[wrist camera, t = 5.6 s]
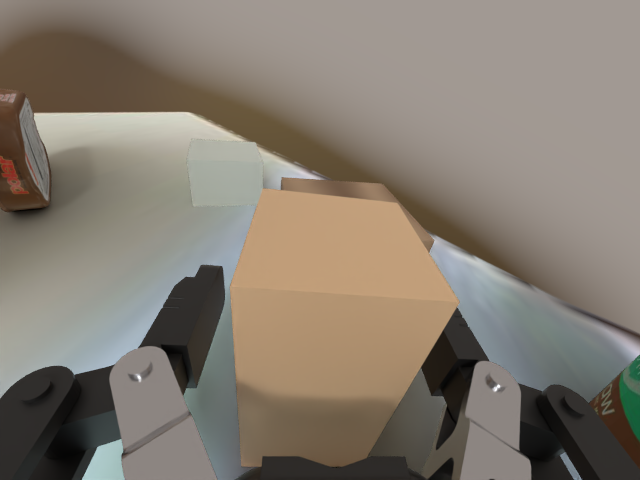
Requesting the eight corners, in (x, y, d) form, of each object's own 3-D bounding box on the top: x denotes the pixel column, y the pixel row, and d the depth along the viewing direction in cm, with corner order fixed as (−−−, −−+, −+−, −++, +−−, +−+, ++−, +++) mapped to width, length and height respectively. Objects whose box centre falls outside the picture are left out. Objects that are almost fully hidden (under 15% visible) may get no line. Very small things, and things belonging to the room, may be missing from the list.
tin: (20, 165, 30) (-22, 77, 25) (58, 163, 32) (25, 80, 27) (5, 231, 21) (-66, 112, 16) (60, 223, 23) (10, 113, 18)
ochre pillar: (241, 466, 11) (229, 286, 6) (259, 354, 15) (262, 188, 10) (361, 466, 12) (459, 302, 6) (346, 358, 16) (397, 202, 10)
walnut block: (286, 296, 19) (291, 238, 17) (278, 224, 28) (281, 177, 25) (411, 292, 22) (434, 240, 19) (370, 226, 30) (382, 183, 27)
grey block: (193, 208, 28) (186, 159, 25) (196, 181, 33) (191, 138, 30) (262, 206, 30) (263, 162, 27) (255, 181, 35) (255, 142, 33)
